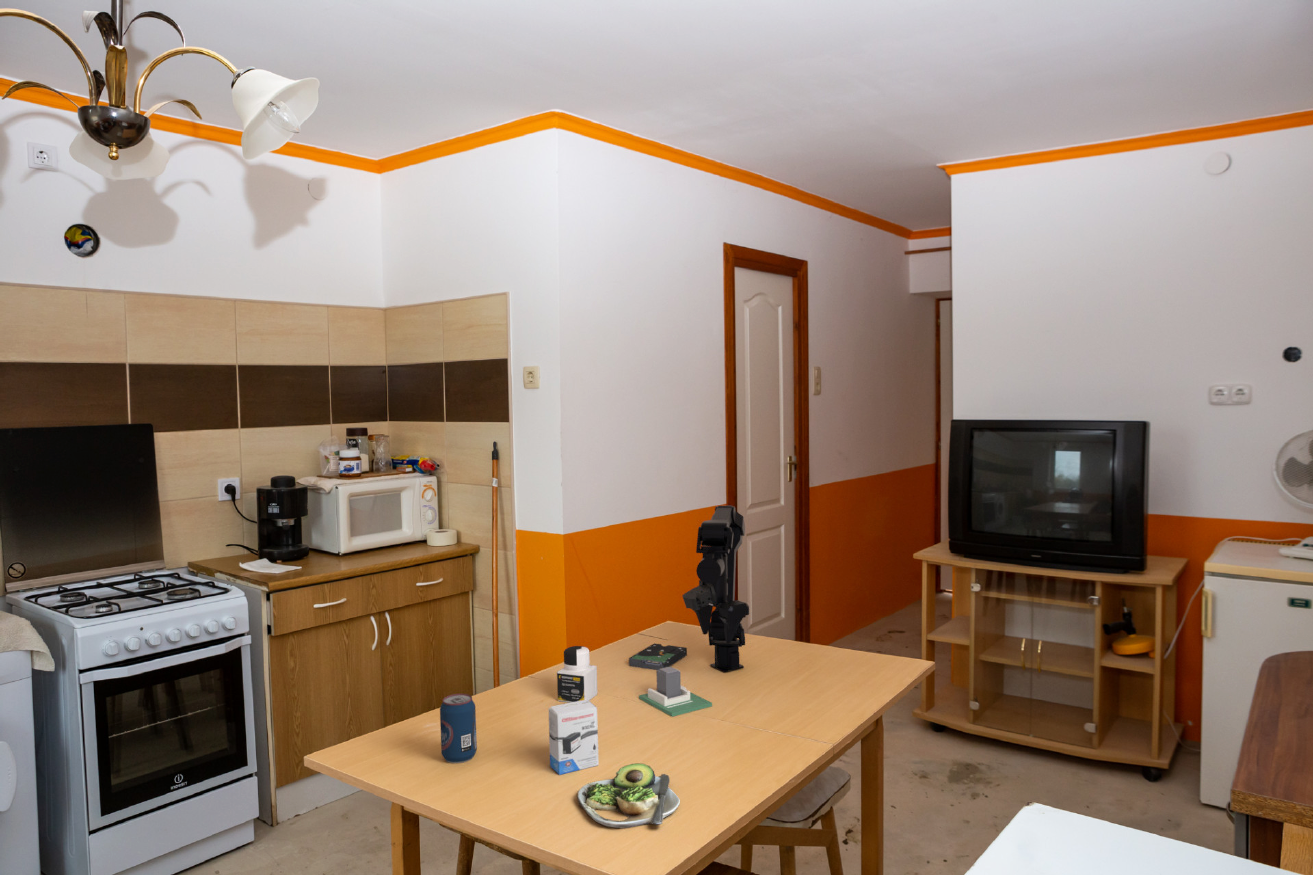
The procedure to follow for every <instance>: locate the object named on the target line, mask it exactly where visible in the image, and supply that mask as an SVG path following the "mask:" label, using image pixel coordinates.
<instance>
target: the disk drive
mask: <svg viewBox="0 0 1313 875" xmlns="http://www.w3.org/2000/svg"><path fill="white" fill-rule="evenodd" d="M686 656H687V657H688V648H687V647H685V646H677V645H669V644H668V645H662V644H661V643H655V642H654V643H653V644H651V645H649V646H647V647H645V648H644V649H642V650H640V651H638V652H637V653H635V654H633V655H632V656H630V657H628V666H629V667H632V668H633V667H634V668H638V669H639V668H640V669H645V670H654V671H656V670H659V669H661V668H666V667H672V666H673V665H674V664H676V663H678V662H679V661H680V660H683V659H684V658H685V657H686Z"/></svg>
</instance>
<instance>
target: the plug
mask: <svg viewBox="0 0 1313 875" xmlns="http://www.w3.org/2000/svg"><path fill="white" fill-rule="evenodd" d="M655 671H656V690H657V692H659V693H661V694H663V695H664V696H666V697H667V699H669V698H673V697H677V696H681V686H682V684H681V682H682V680H681V679H682V678H681V670H679V669H678V668H675V667H672V666H670V667H666V668H661V669H659V670H655Z"/></svg>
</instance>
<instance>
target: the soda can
mask: <svg viewBox="0 0 1313 875" xmlns="http://www.w3.org/2000/svg"><path fill="white" fill-rule="evenodd" d="M476 711H477V710H476V704H475V702H474V700H473V697H472V695H471V694H468V693H453V694H449V695H447V696H445V697H444V698H442V703H441V705H440V707H439V718H440V719H439V720H440V723H439V724H440V746H441V747H440V749H441V755H442V757H443V759H444V760H445V761H446V762H447V763H449V764H462V763H466V762H469V761H472V759H473V758H474V757H475V754H476V753H477V750H478V744H477V743H478V742H477V738H478V737H477V721H476V720H477V715H476V714H477V713H476Z"/></svg>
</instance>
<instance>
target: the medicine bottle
mask: <svg viewBox="0 0 1313 875" xmlns="http://www.w3.org/2000/svg"><path fill="white" fill-rule="evenodd" d="M590 658H591V657H590V650H589V648H588V647H586V646H583V645H582V646H581V645H572V646H569V647H567V648H565V649H564V651H563V667H562V668H561V669H560V670H558V671H557V673H556V685H557V690H556V691H557V701H558V702H562V703H563V702H564V703H572V702H577V701H582V700H589V701H591V700H592V699H593V698H594V697H596V696H597V695H598V667H597V665H593V664H592V665H591V662H590V660H591V659H590Z"/></svg>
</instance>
